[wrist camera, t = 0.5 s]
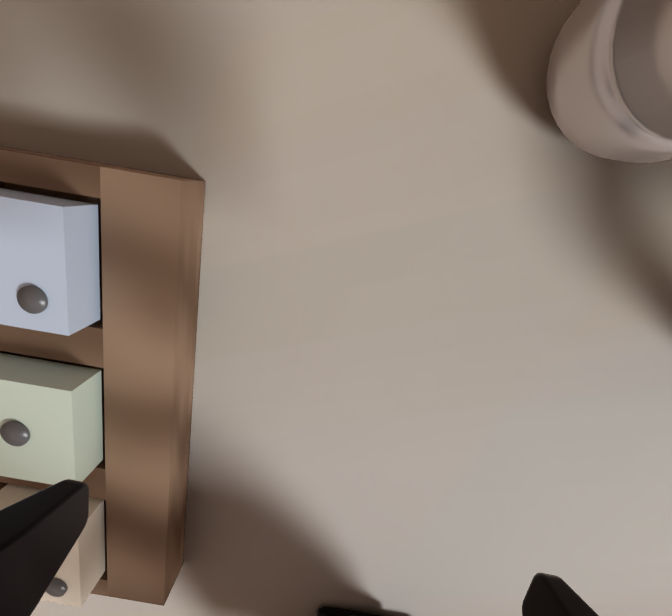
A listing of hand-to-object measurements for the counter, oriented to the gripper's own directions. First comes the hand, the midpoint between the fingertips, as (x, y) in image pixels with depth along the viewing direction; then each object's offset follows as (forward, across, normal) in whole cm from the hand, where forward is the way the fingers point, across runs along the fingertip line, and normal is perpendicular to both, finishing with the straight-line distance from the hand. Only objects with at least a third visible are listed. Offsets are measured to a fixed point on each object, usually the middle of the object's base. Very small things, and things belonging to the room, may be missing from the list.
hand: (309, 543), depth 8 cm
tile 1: (+10, +13, +6) cm, 17 cm away
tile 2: (+10, +13, -2) cm, 16 cm away
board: (+12, +13, +6) cm, 19 cm away
